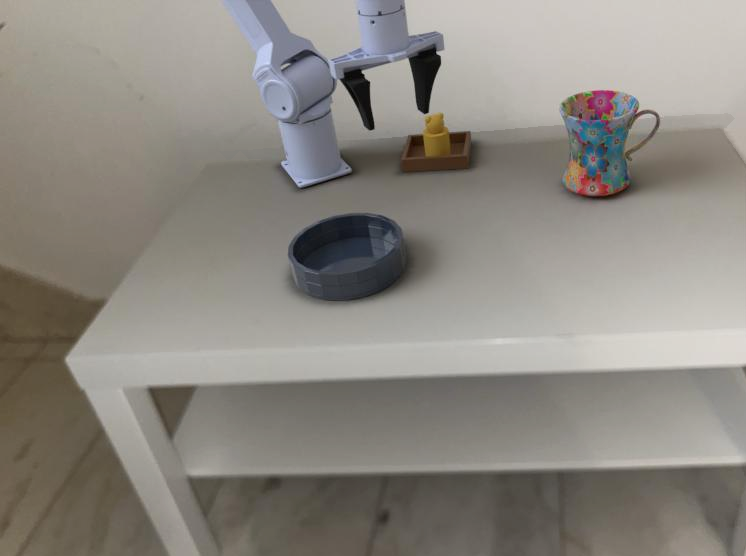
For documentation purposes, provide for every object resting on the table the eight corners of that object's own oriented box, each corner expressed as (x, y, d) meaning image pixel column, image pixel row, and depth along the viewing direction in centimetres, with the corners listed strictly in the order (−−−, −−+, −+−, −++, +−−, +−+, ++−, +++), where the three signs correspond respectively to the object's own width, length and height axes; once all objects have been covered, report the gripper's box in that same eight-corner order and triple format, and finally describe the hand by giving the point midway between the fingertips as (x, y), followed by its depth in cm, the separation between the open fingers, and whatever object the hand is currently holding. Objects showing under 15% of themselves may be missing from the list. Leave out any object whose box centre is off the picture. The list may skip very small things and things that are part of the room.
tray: (402, 172, 107) (400, 159, 106) (409, 146, 114) (408, 134, 113) (468, 168, 106) (467, 155, 105) (471, 142, 112) (470, 130, 111)
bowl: (281, 259, 93) (274, 234, 91) (381, 226, 96) (376, 201, 94) (315, 314, 83) (308, 288, 81) (425, 275, 86) (421, 249, 84)
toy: (421, 153, 110) (416, 113, 107) (444, 147, 111) (439, 107, 108) (432, 162, 108) (427, 122, 104) (455, 155, 109) (451, 115, 105)
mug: (564, 206, 95) (564, 124, 88) (555, 172, 102) (554, 94, 95) (663, 196, 94) (671, 113, 87) (647, 163, 101) (653, 83, 94)
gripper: (335, 31, 85) (355, 145, 93) (451, 1, 89) (461, 113, 97) (314, 17, 90) (336, 127, 99) (425, -10, 94) (436, 97, 103)
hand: (396, 119), depth 98 cm, fingers open, 7 cm apart
